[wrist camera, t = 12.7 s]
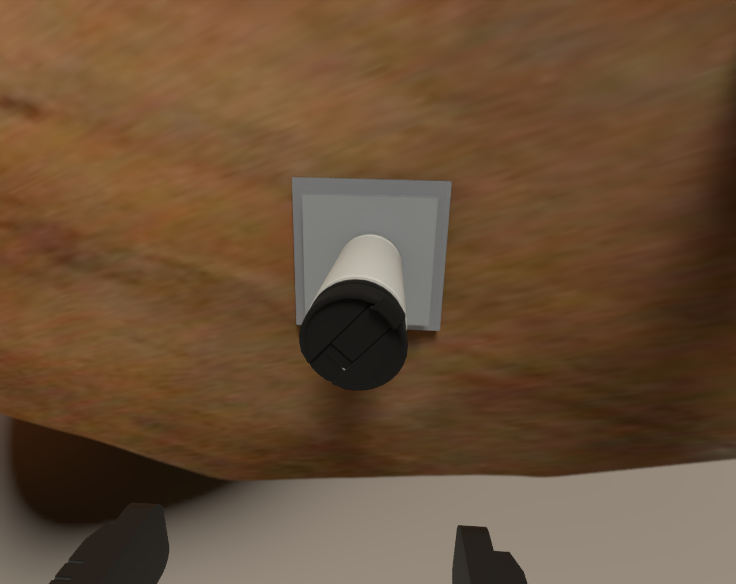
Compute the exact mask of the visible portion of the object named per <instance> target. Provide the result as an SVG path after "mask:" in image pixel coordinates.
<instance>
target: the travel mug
mask: <svg viewBox="0 0 736 584" xmlns="http://www.w3.org/2000/svg"><path fill="white" fill-rule="evenodd" d="M299 343H300V348H301V352H302V354H303V355H304V357H305V359H306V360H307V362H308V363H310V365H311V367H312V368H313V369H314V370H315V371H316V372H317V373H318V374H319V375H320V376H322V377H323V378H324V379H326V380H328V381H332V384H334V385H336V386H339V387H341V388H343V389H347V390H355V391H356V390H368V389H373V388H376V387H379V386H381V385H384V384H385V383H387V382H388V381H390V380H391V379H393V378H394V377H395V376H396V375H397V374H398V372H399V371H400V369H401V368H402V366H403V365H404V362H405V359H406V356H407V349H408V343H407V319H406V308H405V296H404V284H403V273H402V262H401V256H400V253H399V251H398V249H397V247H396V246H395V244H394V243H393V242H392V241H391V240H389V239H388V238H386V237H384V236H382V235H380V234H376V233H364V234H361V235H357V236H356V237H354V238H352V239H351V240H350V241H349V242H347V244H346V245H345V246H344V247H343V249H342V251H341V253H340V254H339V256H338V258H337V260H336V261H335V263H334V265H333V267H332V268H331V270H330V272H329V274H328V275H327V277H326V279H325V281H324V282H323V284H322V286H321V288H320V289H319V291H318V293H317V295H316V296H315V298H314V300H313V302H312V304H311V306H310V308H309V311H308V312H307V314H306V316H305V318H304V320H303V322H302V324H301V329H300V333H299Z"/></svg>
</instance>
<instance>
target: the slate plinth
mask: <svg viewBox="0 0 736 584" xmlns="http://www.w3.org/2000/svg"><path fill="white" fill-rule="evenodd" d="M451 184H452V181H437V180H399V179H360V178H321V177H292V195H293V227H294V260H295V292H296V324H297V325H301V324H302V322H303V320H304V318H305V316H306V314H307V312H308V311H309V308H310V306H311V304H312V302H313V300H314V298H315V296H316V295H317V293H318V291H319V289H320V288H321V286H322V284H323V282H324V281H325V279H326V277H327V275H328V274H329V272H330V270H331V268H332V267H333V265H334V263H335V261H336V260H337V258H338V256H339V254H340V253H341V251H342V249H343V247H344V246H345V245H346V244H347V242H349V241H350V240H351V239H352V238H354V237H356V236H357V235H361V234H364V233H376V234H380V235H382V236H384V237H386V238H388V239H389V240H391V241H392V242H393V243H394V244H395V246H396V247H397V249H398V251H399V253H400V256H401V262H402V273H403V284H404V296H405V308H406V319H407V330H430V331H440V321H441V308H442V296H443V283H444V271H445V258H446V246H447V234H448V221H449V209H450V196H451Z"/></svg>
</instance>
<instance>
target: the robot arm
mask: <svg viewBox="0 0 736 584" xmlns="http://www.w3.org/2000/svg"><path fill="white" fill-rule="evenodd" d="M168 554H169V542H168V536H167V530H166V523H165V518H164V511H163V507H162V506H161V505H159V504H142V503H131V504H130V505H128V506H127V507H126V508H125V510H124V511H123V512H122V513H121V515H120V516H119V517H118V519H117V520H116V521H115V523H114V524H109V523H108V524H107V523H106V524H105V525H103V526H102V527H101V528H99V529H98V530H97V531H95V532H94V533H93V534H91V535H90V536H89V537H88V538H86V539H85V540H84V541H83V542H82V544H81V545H80V546H79V547H78V549H77V550H76V551H75V552H74V553H73V555H72V556H71V557H70V559H69V561H68V563H66V564H65V565H64V566H63V567H62V568H61V569H60V571H59V572H58V573H57V575H56V576H55V579H54V580H52V581H51V582H50V583H49V584H157V583H158V581H159V579H160V577H161V576H162V574H163V572H164V569H165V567H166V564H167V560H168ZM452 584H527V581H526V578H525V575H524V572H523V570H522V569H521V568H520V566H519V565H518V563H517V562H516V561H515V559H514V558H513V557H512V555H511V554H510V552H500V551H494V550H493V546H492V542H491V539H490V535H489V532H488V529H487V528H486V527H477V526H462V525H458V527H457V533H456V541H455V551H454V559H453V569H452Z"/></svg>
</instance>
